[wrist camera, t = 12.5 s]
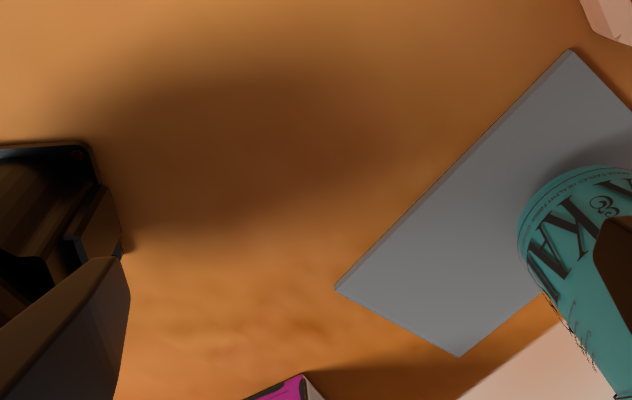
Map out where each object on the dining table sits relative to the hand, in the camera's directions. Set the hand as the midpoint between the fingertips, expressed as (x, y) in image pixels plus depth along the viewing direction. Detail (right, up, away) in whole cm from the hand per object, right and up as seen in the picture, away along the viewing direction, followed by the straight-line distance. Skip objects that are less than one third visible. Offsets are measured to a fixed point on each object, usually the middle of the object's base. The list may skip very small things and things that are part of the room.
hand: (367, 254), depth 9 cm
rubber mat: (+9, -1, +17) cm, 19 cm away
